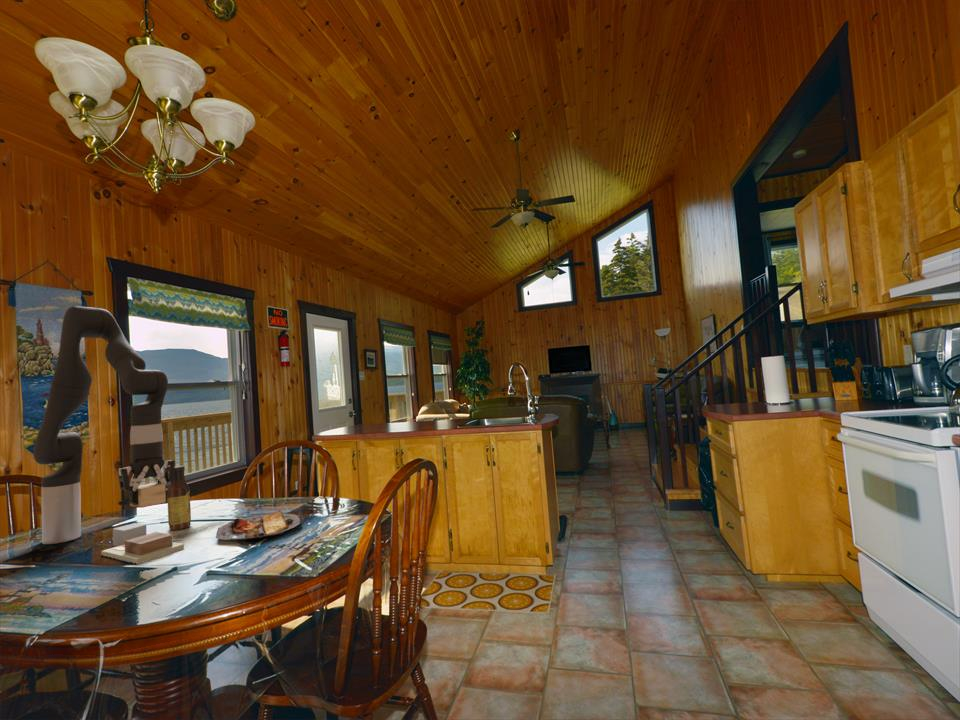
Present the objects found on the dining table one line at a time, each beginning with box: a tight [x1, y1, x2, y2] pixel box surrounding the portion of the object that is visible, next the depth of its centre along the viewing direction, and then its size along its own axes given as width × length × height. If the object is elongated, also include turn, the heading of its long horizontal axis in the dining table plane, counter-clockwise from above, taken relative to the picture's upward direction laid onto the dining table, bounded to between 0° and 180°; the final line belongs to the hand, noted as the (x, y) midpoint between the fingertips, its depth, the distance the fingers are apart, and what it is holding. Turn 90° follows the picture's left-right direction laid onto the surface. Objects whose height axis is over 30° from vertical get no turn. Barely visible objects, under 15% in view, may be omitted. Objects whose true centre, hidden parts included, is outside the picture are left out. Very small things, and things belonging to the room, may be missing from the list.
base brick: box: [125, 531, 173, 555], centre depth 131 cm, size 8×8×3 cm
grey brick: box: [112, 522, 147, 547], centre depth 141 cm, size 6×6×5 cm
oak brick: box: [129, 482, 167, 509], centre depth 132 cm, size 6×6×5 cm
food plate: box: [215, 509, 301, 541], centre depth 147 cm, size 25×23×4 cm
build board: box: [100, 541, 185, 565], centre depth 132 cm, size 18×12×1 cm, turn 62°
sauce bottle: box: [166, 465, 192, 531], centre depth 155 cm, size 7×6×20 cm
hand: (147, 501), depth 132 cm, fingers closed on oak brick, 6 cm apart
